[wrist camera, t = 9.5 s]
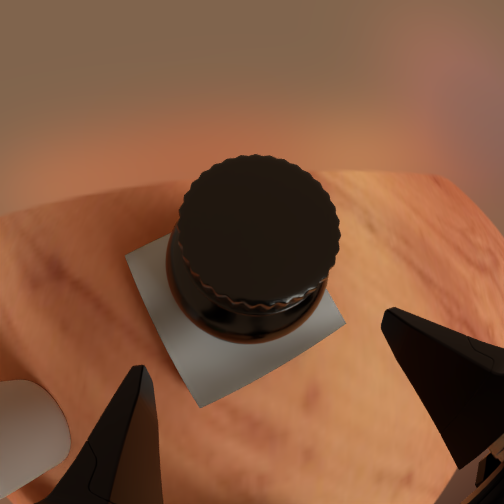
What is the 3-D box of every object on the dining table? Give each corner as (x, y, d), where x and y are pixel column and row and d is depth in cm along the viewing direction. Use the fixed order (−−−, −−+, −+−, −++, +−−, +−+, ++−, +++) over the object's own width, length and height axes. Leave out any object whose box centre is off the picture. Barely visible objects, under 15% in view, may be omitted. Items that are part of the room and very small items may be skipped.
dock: (332, 326, 22) (346, 323, 19) (201, 401, 18) (200, 408, 16) (261, 205, 24) (266, 190, 22) (133, 264, 21) (124, 255, 19)
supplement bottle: (210, 232, 20) (208, 105, 9) (297, 267, 20) (386, 177, 9) (170, 319, 18) (100, 280, 7) (264, 357, 18) (340, 379, 6)
